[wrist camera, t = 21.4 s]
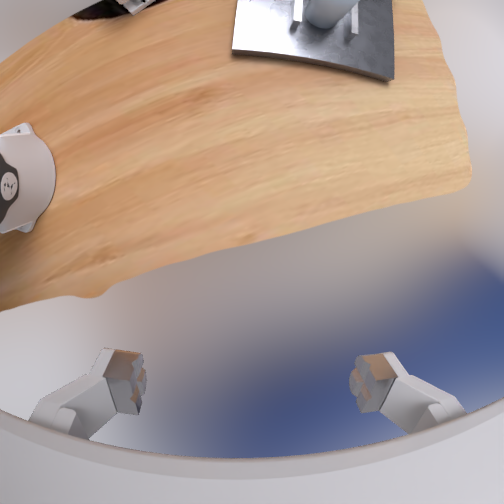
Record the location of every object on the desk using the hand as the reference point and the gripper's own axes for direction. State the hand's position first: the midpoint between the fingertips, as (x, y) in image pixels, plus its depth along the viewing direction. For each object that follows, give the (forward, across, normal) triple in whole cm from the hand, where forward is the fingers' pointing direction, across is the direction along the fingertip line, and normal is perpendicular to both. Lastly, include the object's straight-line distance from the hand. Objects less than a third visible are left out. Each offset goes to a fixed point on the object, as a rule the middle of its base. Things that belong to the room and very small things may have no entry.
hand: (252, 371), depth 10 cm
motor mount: (+34, -10, -33) cm, 48 cm away
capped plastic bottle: (+32, -10, -30) cm, 45 cm away
